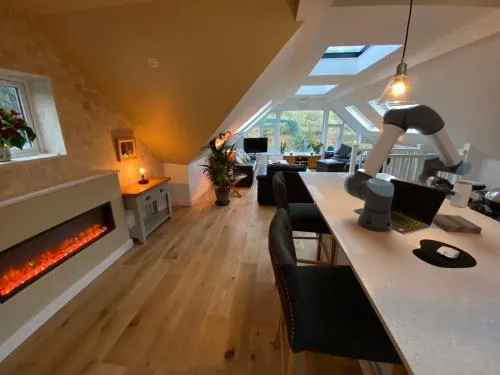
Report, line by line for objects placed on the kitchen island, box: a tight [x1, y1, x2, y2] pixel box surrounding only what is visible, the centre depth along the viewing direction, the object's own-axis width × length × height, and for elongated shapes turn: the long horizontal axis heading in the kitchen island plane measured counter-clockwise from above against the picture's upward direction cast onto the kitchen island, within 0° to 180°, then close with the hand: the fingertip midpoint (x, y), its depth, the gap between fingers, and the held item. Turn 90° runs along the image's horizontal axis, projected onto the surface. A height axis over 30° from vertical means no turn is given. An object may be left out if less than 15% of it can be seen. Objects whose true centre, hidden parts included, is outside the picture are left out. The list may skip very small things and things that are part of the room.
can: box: [448, 180, 473, 209], centre depth 112 cm, size 6×6×12 cm
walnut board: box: [432, 213, 483, 235], centre depth 116 cm, size 15×15×3 cm
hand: (469, 196), depth 107 cm, fingers closed on can, 6 cm apart
